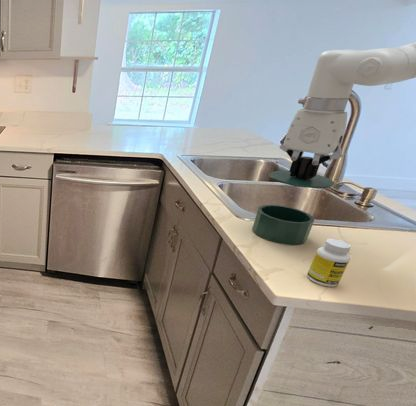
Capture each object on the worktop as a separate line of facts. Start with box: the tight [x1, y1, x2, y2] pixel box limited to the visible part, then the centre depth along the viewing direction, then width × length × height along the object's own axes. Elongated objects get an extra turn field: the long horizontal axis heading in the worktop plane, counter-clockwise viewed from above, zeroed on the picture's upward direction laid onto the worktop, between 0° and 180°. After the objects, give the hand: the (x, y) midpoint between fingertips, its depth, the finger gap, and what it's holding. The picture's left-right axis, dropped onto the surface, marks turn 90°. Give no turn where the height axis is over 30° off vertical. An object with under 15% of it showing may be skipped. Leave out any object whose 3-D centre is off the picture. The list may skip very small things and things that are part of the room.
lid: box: [268, 155, 336, 189], centre depth 94 cm, size 13×13×7 cm
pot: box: [251, 204, 315, 246], centre depth 101 cm, size 12×12×6 cm
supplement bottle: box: [306, 238, 352, 288], centre depth 81 cm, size 5×5×10 cm
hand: (301, 176), depth 95 cm, fingers closed on lid, 2 cm apart
